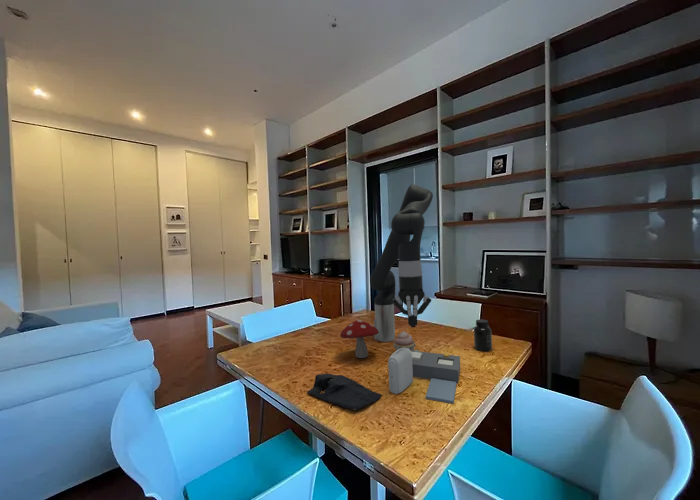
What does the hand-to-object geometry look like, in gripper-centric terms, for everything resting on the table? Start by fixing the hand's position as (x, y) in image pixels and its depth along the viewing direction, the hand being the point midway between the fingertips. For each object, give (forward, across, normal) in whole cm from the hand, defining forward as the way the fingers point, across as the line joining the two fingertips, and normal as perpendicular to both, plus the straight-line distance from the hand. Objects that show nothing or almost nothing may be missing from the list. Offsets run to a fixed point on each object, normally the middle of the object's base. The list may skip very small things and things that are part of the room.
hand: (412, 326), depth 96 cm
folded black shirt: (+20, +23, +7) cm, 31 cm away
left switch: (+16, -1, -11) cm, 19 cm away
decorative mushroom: (+19, +20, -23) cm, 36 cm away
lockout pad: (+20, -8, +4) cm, 21 cm away
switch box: (+19, -6, -9) cm, 22 cm away
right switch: (+18, -11, -8) cm, 22 cm away
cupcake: (+19, +2, -24) cm, 31 cm away
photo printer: (+20, +5, +2) cm, 20 cm away
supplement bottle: (+19, -32, -31) cm, 48 cm away
